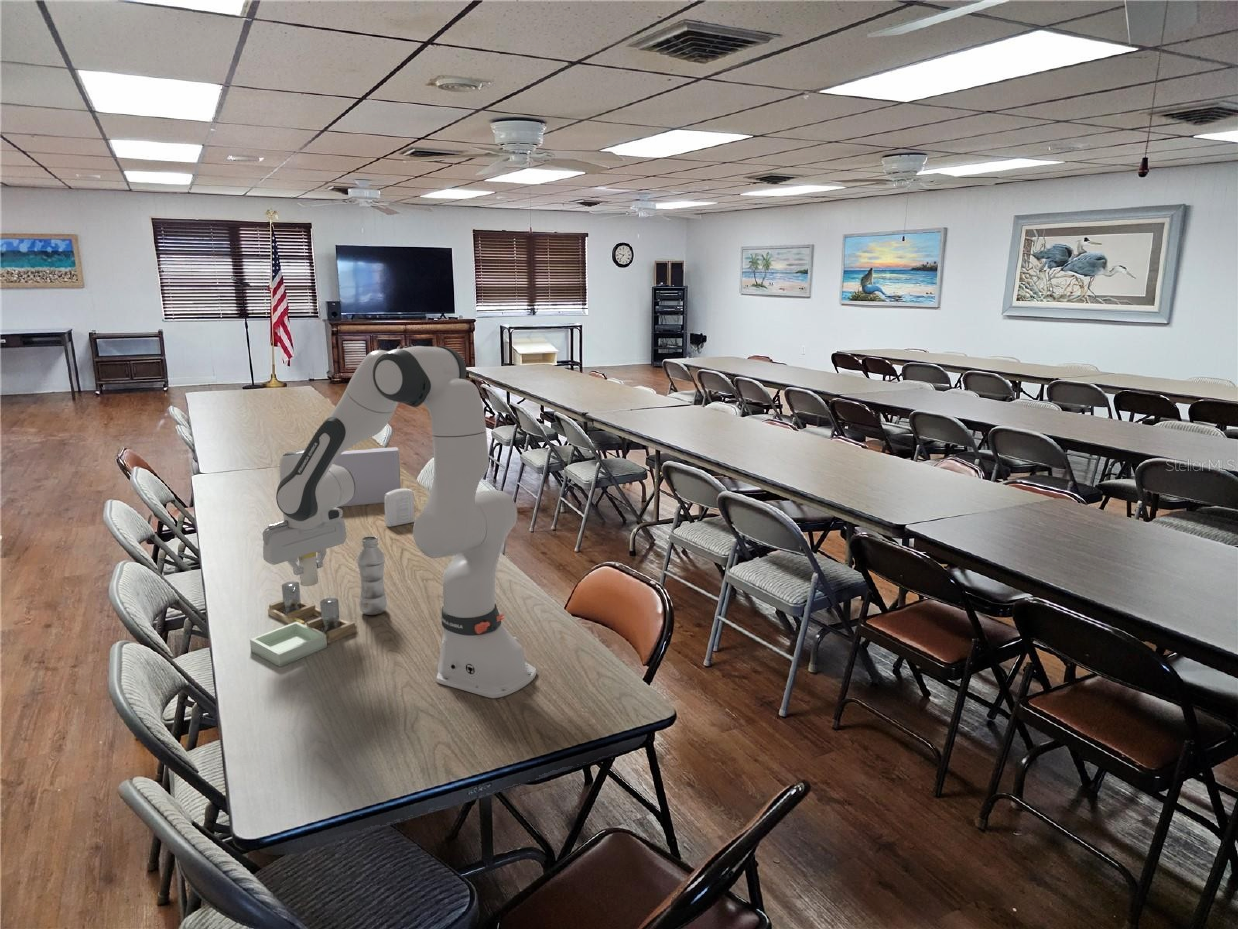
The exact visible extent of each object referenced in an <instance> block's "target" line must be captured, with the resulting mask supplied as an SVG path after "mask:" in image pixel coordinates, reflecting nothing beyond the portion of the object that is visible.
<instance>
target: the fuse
mask: <svg viewBox="0 0 1238 929" xmlns="http://www.w3.org/2000/svg"><path fill="white" fill-rule="evenodd" d="M316 558H317V552H314V553H310V554H307V555H305V556H302V557H299V558H298V566H301V567H303V570H302V571H303V574H300V575H299V582H300V583H299V584H300V586H302V587H311V586H315V585H317V584H318V583H319V575H318V569H317V560H316Z"/></svg>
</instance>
